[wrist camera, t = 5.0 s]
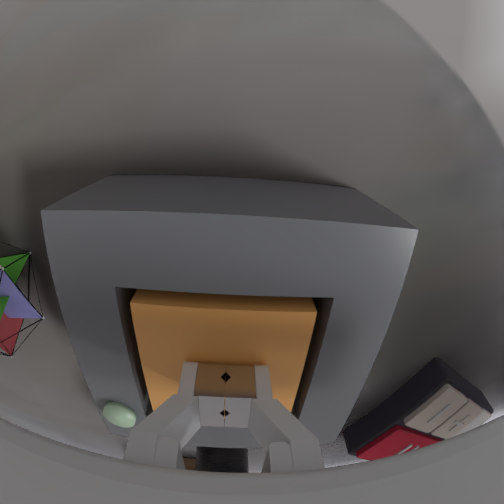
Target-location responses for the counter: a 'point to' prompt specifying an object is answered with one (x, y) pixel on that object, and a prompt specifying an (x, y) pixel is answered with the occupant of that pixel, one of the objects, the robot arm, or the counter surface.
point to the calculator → (419, 414)
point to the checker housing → (226, 279)
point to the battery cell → (222, 459)
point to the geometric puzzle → (13, 301)
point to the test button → (221, 337)
